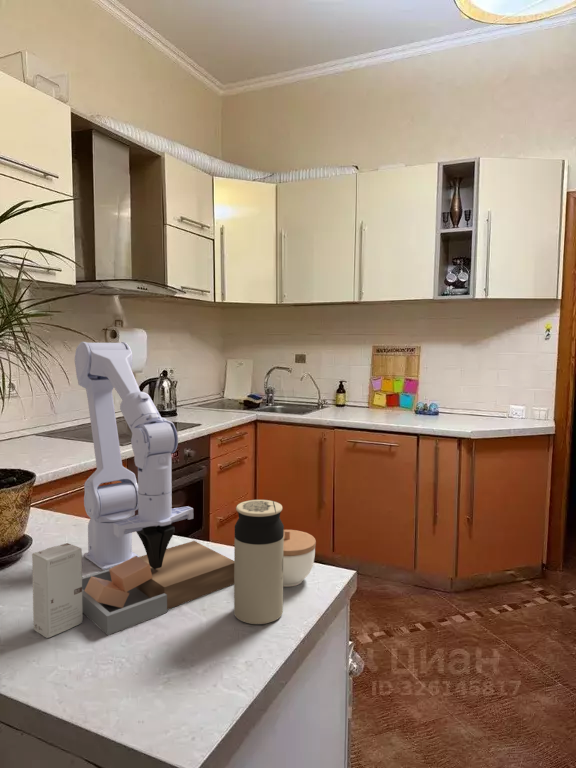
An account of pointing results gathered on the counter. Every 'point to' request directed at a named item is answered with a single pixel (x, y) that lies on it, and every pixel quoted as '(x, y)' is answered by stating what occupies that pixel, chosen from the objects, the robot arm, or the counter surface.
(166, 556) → the dark wood platform
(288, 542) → the lidded jar
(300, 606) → the counter surface
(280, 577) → the travel mug
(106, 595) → the tile front
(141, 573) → the tile rear
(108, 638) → the counter surface
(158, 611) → the tray
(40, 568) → the skincare box
